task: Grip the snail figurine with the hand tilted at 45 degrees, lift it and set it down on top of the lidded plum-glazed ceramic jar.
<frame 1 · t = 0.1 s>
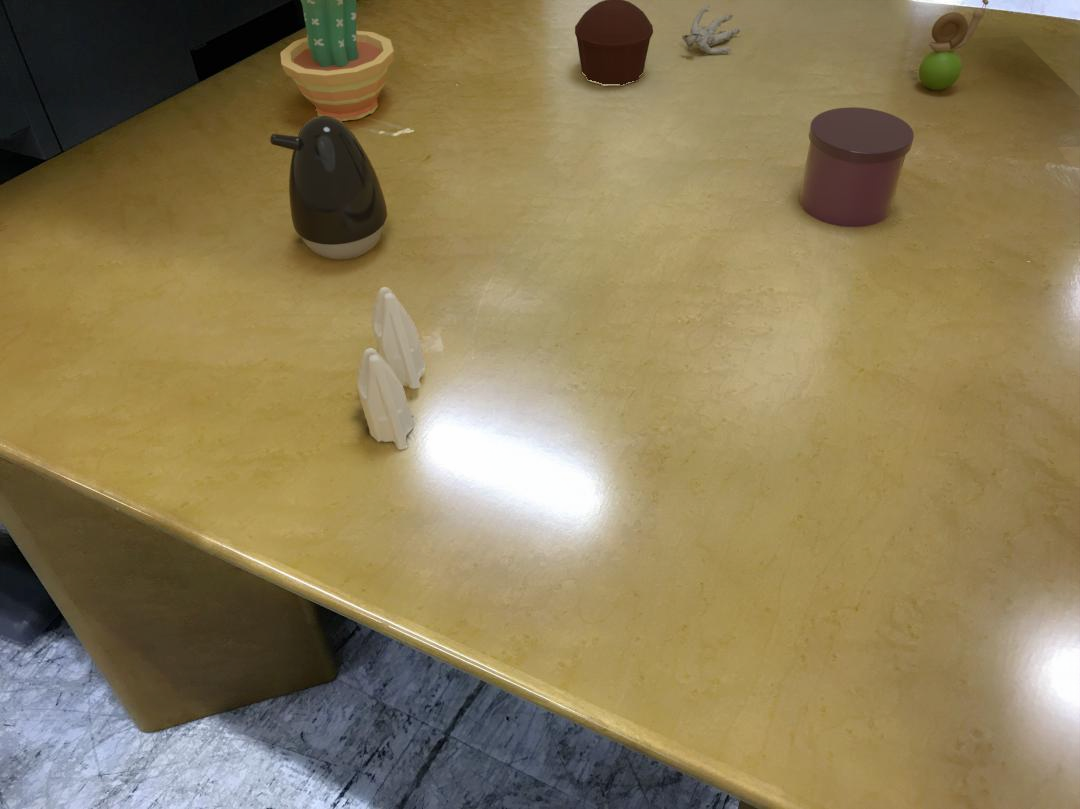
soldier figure: (710, 47, 139), on the table
shaker set: (398, 403, 82), on the table
snail figurine: (937, 89, 126), on the table
jar: (841, 216, 103), on the table
pump dispenser: (345, 248, 101), on the table
muffin: (612, 75, 133), on the table
potted cactus: (347, 109, 127), on the table
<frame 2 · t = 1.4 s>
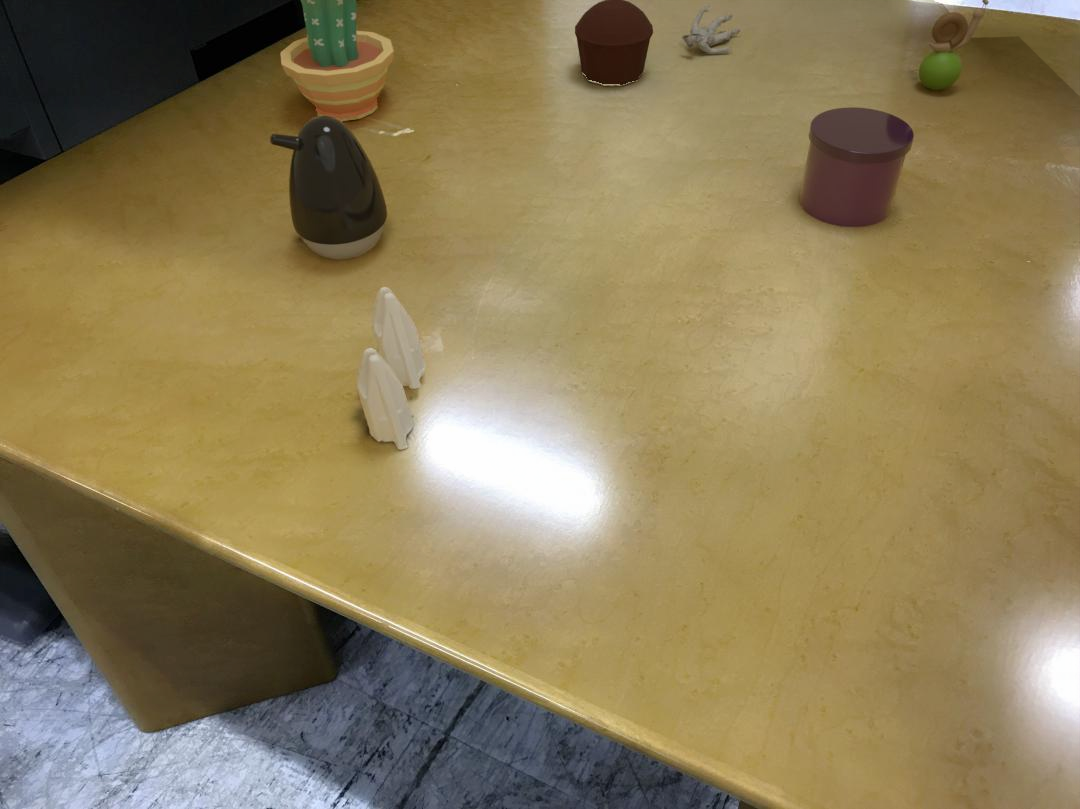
nothing on the table moved.
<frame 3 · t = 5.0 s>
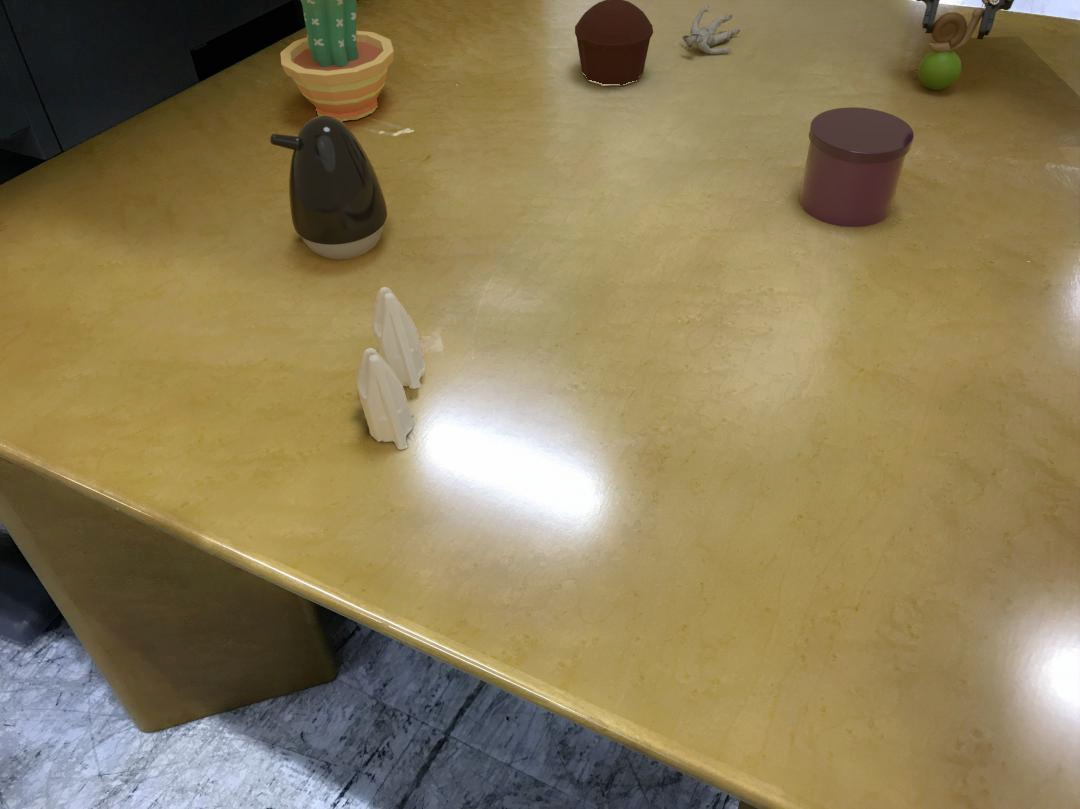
hand: (954, 33, 119), 8 cm above the table, tool tilted 45°, fingers closed on snail figurine, 6 cm apart
snail figurine: (937, 89, 126), on the table, touching gripper
everything else where it was.
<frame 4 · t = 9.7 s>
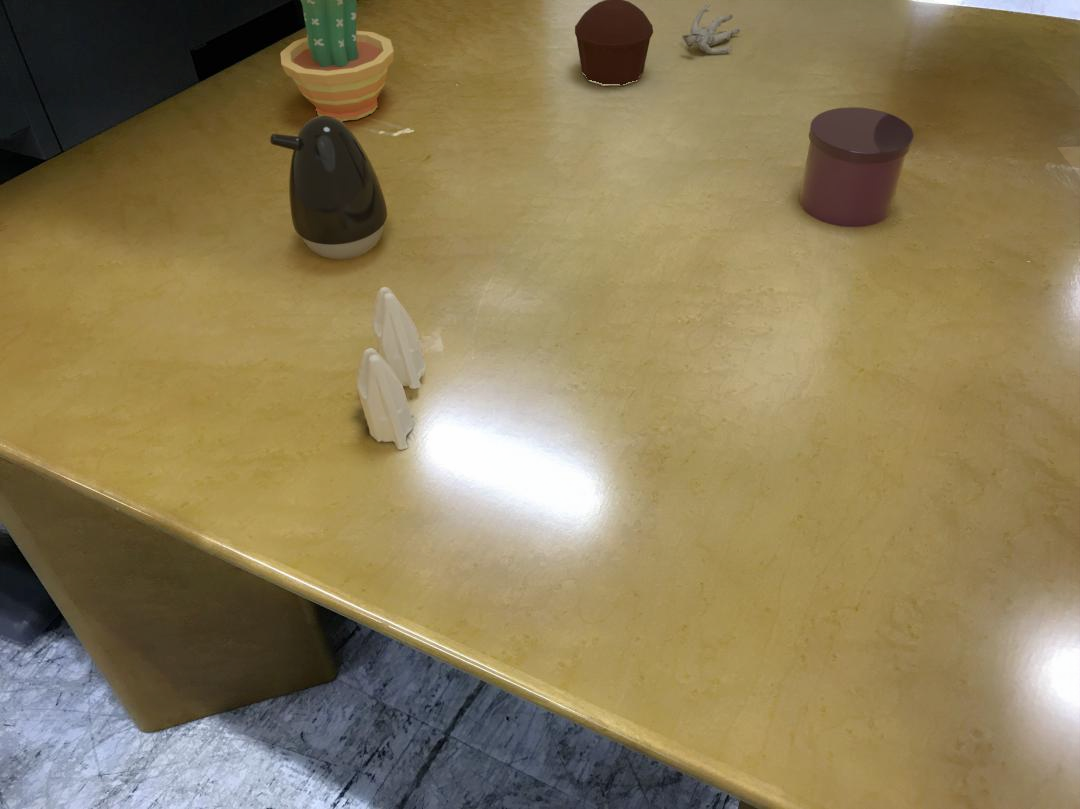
snail figurine: (936, 0, 103), point 17 cm above the table, touching gripper
everything else where it was.
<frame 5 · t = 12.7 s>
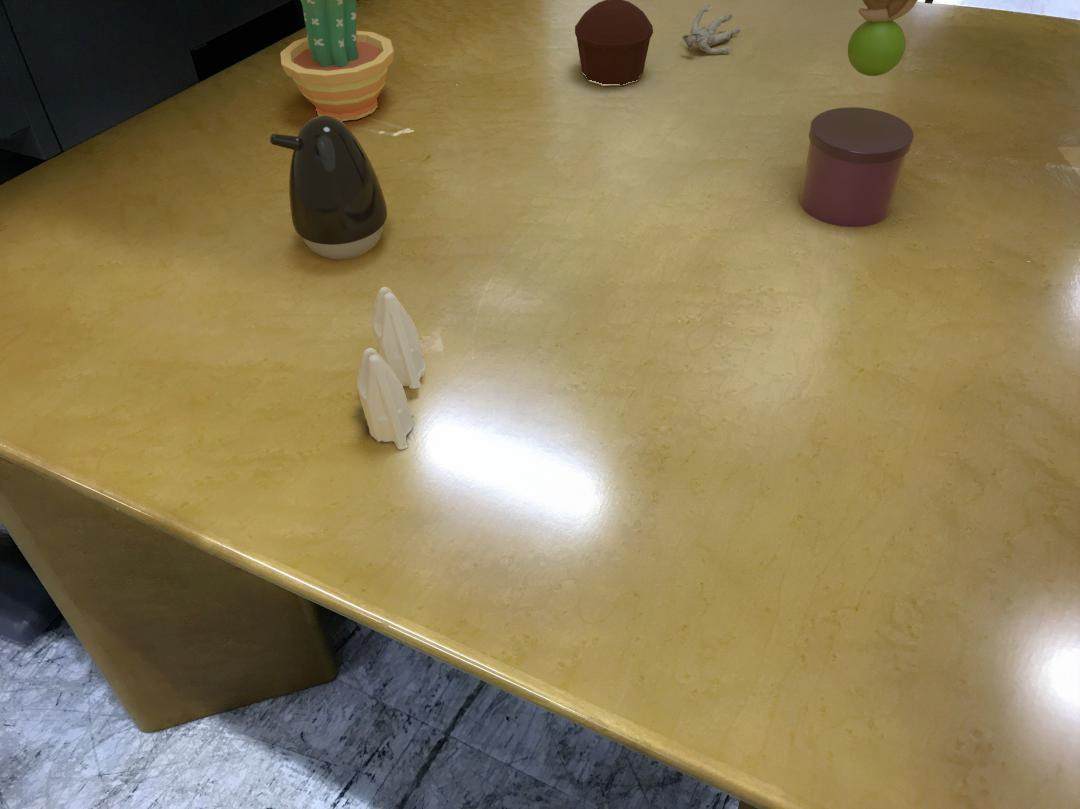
snail figurine: (874, 75, 92), point 16 cm above the table, touching gripper
everything else where it was.
when the fingers open (19 cm above the table, at t = 14.9 s): snail figurine stays where it is, resting on jar.
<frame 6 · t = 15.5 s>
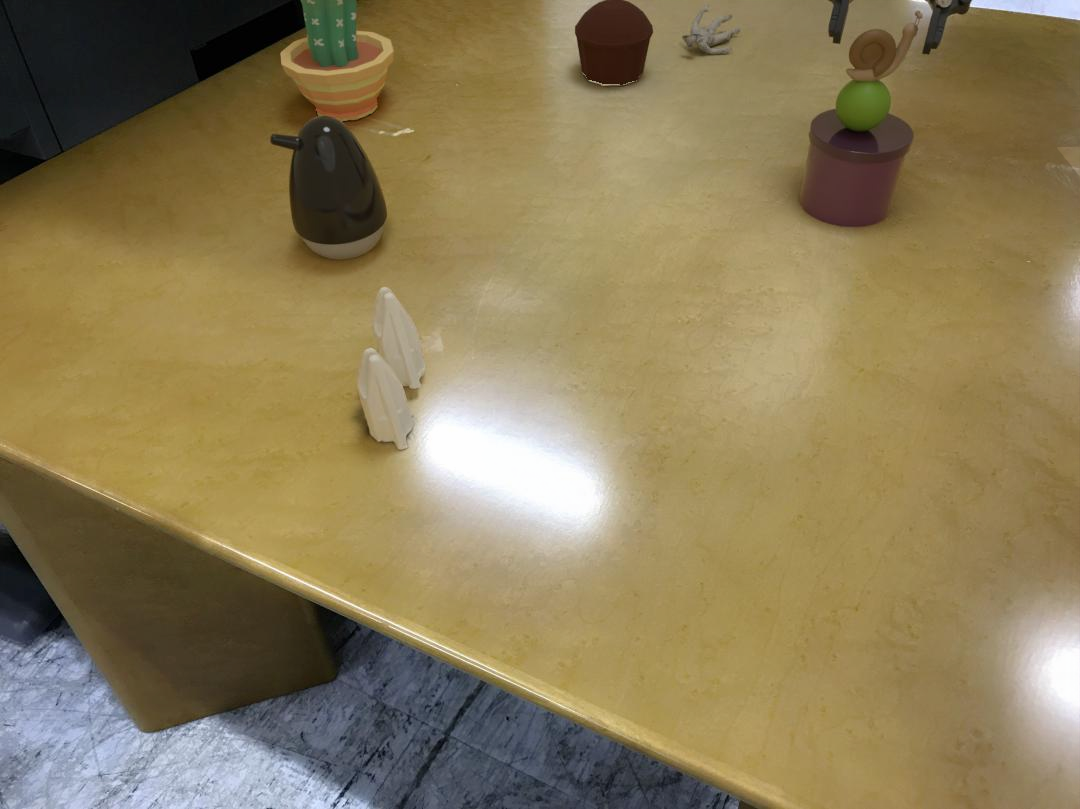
hand: (881, 45, 88), 20 cm above the table, tool tilted 45°, fingers open, 8 cm apart
snail figurine: (861, 130, 96), point 11 cm above the table, touching jar
everything else where it was.
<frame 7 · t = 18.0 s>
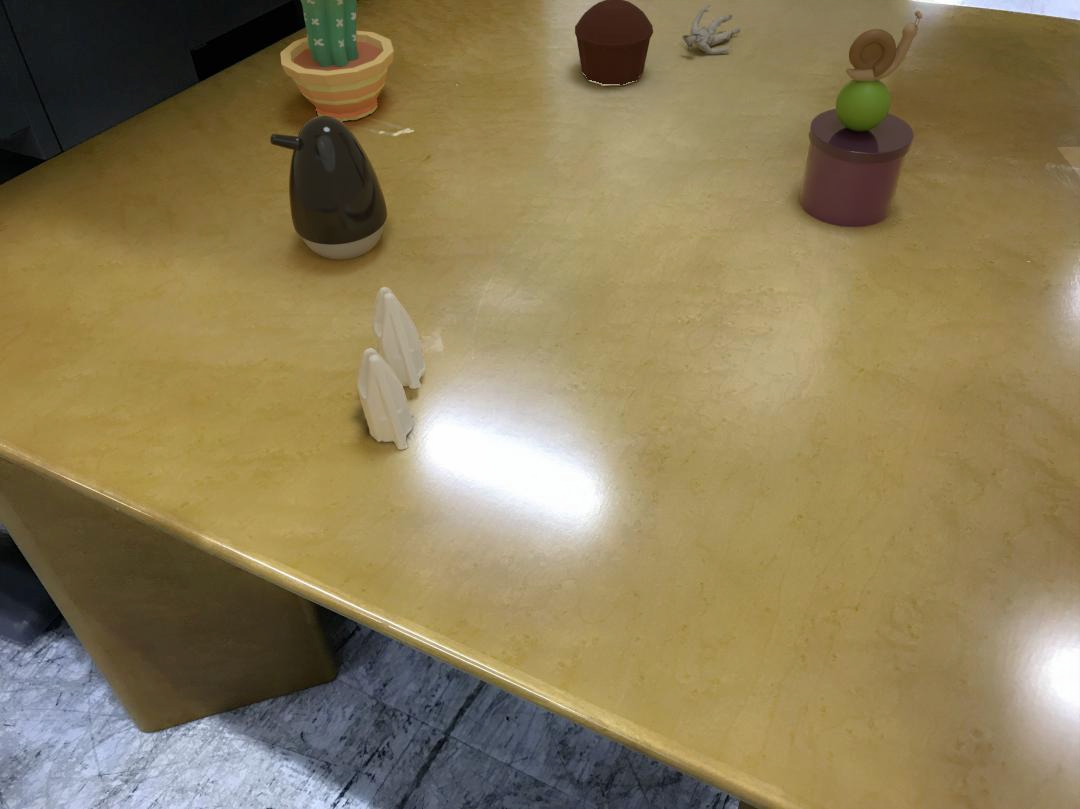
nothing on the table moved.
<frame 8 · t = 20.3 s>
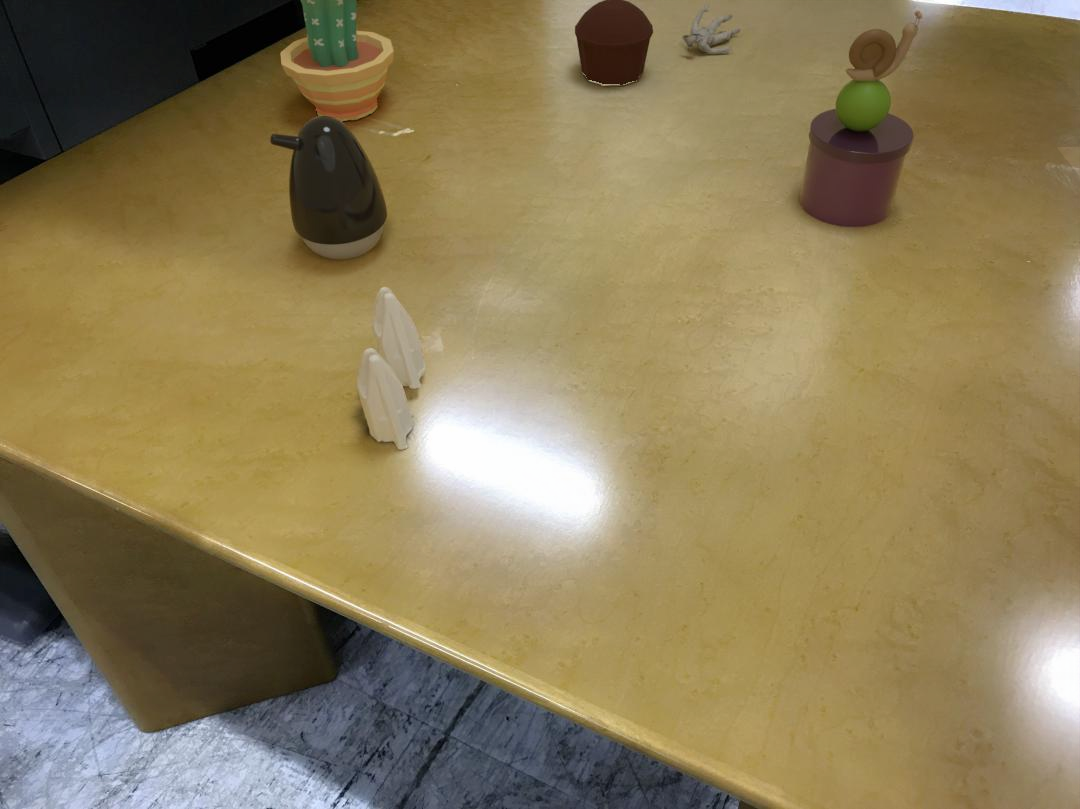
nothing on the table moved.
at the end: snail figurine inside the target area on the jar (0.2 cm from its centre), point 10.5 cm above the jar's base; snail figurine tilted 0°; snail figurine touching jar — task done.
